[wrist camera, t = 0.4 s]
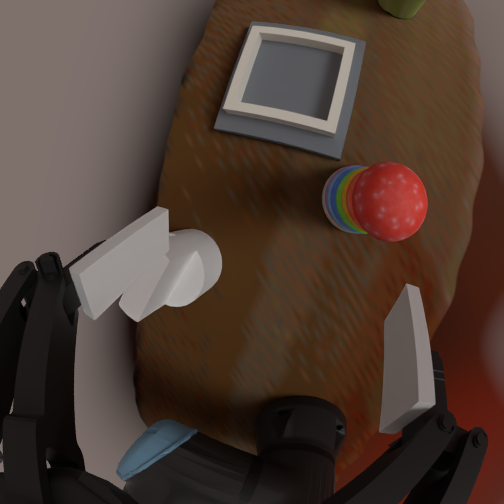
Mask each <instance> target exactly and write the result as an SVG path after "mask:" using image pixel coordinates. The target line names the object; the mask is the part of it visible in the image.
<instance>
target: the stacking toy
mask: <svg viewBox="0 0 504 504" xmlns="http://www.w3.org/2000/svg"><path fill="white" fill-rule="evenodd" d="M427 204H428V201H427V194H426V191H425V188H424V185H423V183H422V182H421V180H420V179H419V177H418V176H417V175H416V174H415V173H414V172H413V171H412V170H411V169H409V168H408V167H406V166H404V165H402V164H399V163H395V162H380V163H377V164H374V165H372V166H370V167H365V166H361V165H352V166H347V167H343V168H341V169H339V170H337V171H335V172H334V173H333V174H332V175H331V176H330V177H329V178H328V180H327V181H326V183H325V185H324V188H323V192H322V205H323V209H324V212H325V214H326V216H327V218H328V219H329V221H330V222H331V223H332V224H333V225H334V226H335V227H337V228H338V229H340V230H342V231H345V232H348V233H357V234H370V235H371V236H373V237H374V238H376V239H379V240H382V241H388V242H394V241H400V240H403V239H406V238H408V237H409V236H411V235H412V234H414V233H415V232H416V231H417V230H418V229H419V228H420V226H421V225H422V223H423V221H424V219H425V216H426V213H427Z"/></svg>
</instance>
